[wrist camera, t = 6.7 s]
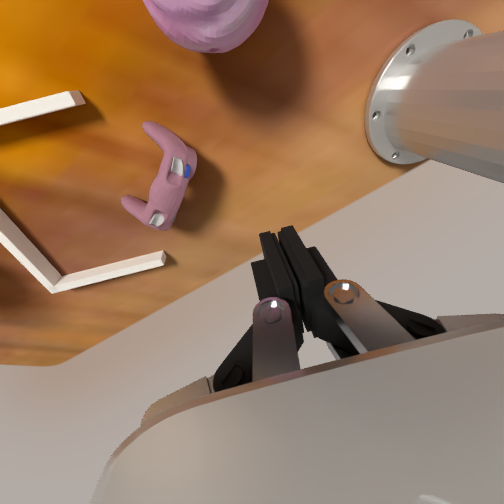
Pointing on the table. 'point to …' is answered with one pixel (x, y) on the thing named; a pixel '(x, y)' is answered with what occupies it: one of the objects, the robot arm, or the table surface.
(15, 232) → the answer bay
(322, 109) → the table surface
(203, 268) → the table surface
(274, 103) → the table surface
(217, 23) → the cupcake
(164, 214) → the video game controller
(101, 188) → the table surface
